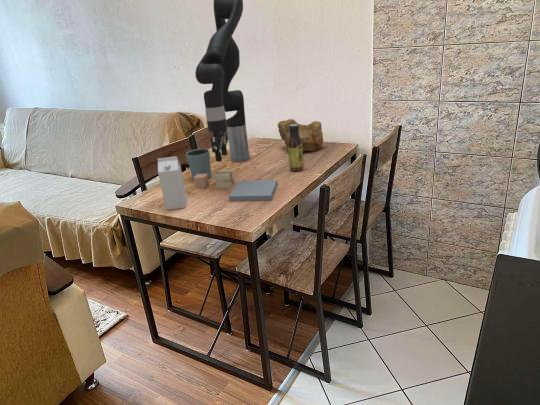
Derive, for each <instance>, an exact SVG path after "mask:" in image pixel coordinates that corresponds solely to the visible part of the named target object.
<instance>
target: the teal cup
mask: <svg viewBox="0 0 540 405" xmlns="http://www.w3.org/2000/svg"><path fill="white" fill-rule="evenodd" d="M210 156H211V155H210V150H209V149H208V148H196V149H192V150H188V151H187V152H186V153H185V157H186V159H187V163H188V165H189V166H188V167H189V171H190V173H191V178H192V180H193V181H194V177H195V176H196V175H197V174H208V179H209V180H210V179H211V178H212V169H211V162H210V160H211V157H210Z"/></svg>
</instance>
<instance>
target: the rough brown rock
mask: <svg viewBox="0 0 540 405" xmlns="http://www.w3.org/2000/svg"><path fill="white" fill-rule="evenodd" d="M292 124H298V125H299V128H298V129H299V136H300V138H301V141H302V147H303V152H305V151H308V152H315V151H317V150H319V149H320V148H321V147H323V144H324V137H323V131H322V123H321V122H320V121H319V120H317V121H315V120H314V121H312V122H311V123H308V124H302V123H298V122H297V121H296V120H295V119H293V118H292V119H291V118H290V119H289V118H288V119H287V120H281V121H279V122H278V123H277V127H278V133H279V135H280V138H281V140H282V141H284V144H285V145H286V150H287V154H289V152H288V140H289V138H290V129H289V125H292Z"/></svg>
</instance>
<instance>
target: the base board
mask: <svg viewBox="0 0 540 405" xmlns="http://www.w3.org/2000/svg"><path fill="white" fill-rule="evenodd" d="M278 184H279V183H278V180H277V179H269V180H268V179H267V180H265V179H264V180H241V181H240V180H238V182H237V183H236V184H235V187H233V189H232V191H231V193H229V196H228V198H229V202H261V201H263V202H265V201H267V202H268V201H269V202H270V201H272V200H273V197H274V195H275V192H276V190H277V187H278Z"/></svg>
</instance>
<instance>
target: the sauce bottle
mask: <svg viewBox="0 0 540 405" xmlns="http://www.w3.org/2000/svg"><path fill="white" fill-rule="evenodd" d="M298 124H299V123H298ZM298 124H292V125H289V129H290V138H289V140H288V150H287V153H288V152H289V153H288V163H289V166H288V167H289V170H290V171H291V172H299V171H302V170H303V169H304V151H303V147H302V141H301V138H300V136H299V129H298V128H299V125H298Z"/></svg>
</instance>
